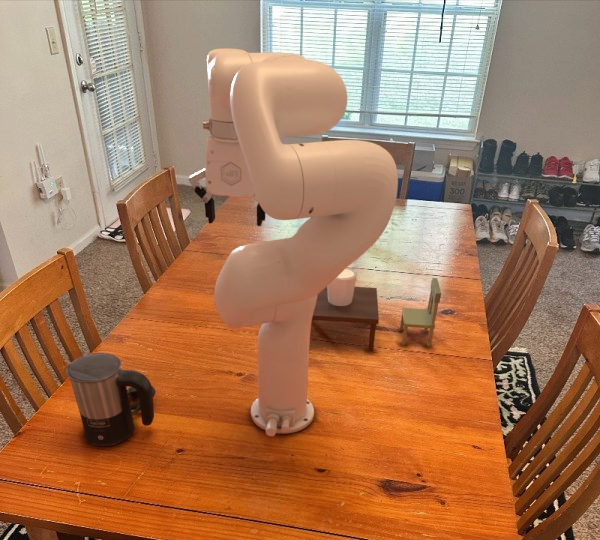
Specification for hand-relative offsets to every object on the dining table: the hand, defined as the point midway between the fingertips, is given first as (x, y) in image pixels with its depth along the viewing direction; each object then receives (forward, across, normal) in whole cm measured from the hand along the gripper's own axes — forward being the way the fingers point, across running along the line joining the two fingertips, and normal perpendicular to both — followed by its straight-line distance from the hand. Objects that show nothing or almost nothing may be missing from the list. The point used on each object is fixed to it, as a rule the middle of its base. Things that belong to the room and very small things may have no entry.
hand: (235, 222), depth 113 cm
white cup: (+22, +22, +11) cm, 33 cm away
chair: (+30, +41, +11) cm, 52 cm away
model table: (+30, +22, +11) cm, 39 cm away
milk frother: (+31, -19, -27) cm, 45 cm away
